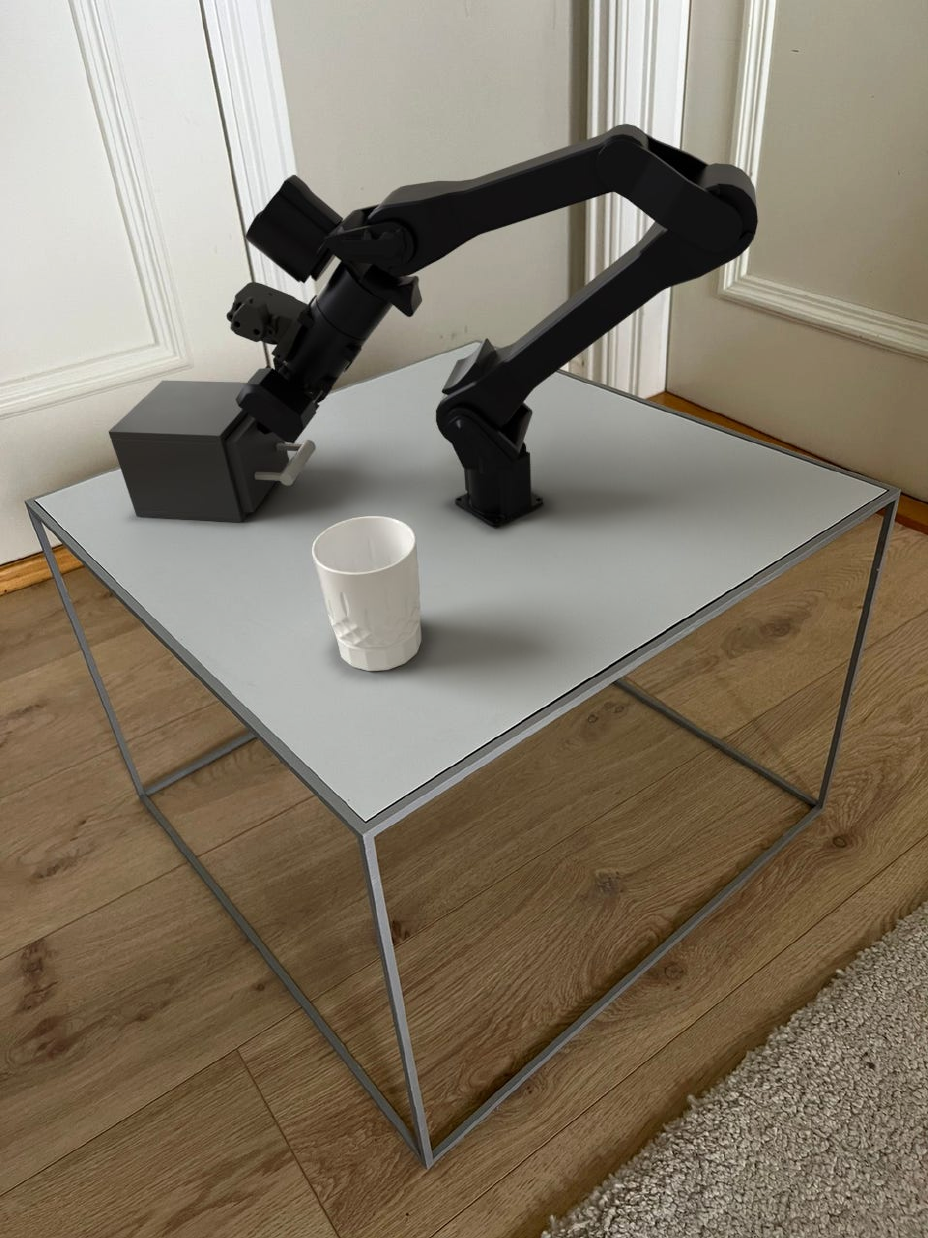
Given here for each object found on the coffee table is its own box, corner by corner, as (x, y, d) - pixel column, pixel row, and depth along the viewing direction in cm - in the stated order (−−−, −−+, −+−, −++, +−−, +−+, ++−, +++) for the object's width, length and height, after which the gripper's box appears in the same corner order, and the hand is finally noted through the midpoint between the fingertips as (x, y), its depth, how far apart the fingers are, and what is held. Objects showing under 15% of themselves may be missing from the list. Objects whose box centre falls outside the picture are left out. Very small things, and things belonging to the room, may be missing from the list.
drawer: (325, 462, 101) (313, 394, 96) (292, 514, 93) (277, 443, 88) (200, 457, 104) (182, 391, 99) (157, 507, 96) (135, 437, 91)
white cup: (415, 681, 74) (401, 576, 67) (319, 673, 75) (297, 570, 69) (437, 618, 80) (426, 518, 73) (348, 612, 81) (330, 513, 75)
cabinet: (282, 465, 103) (265, 382, 97) (241, 522, 94) (219, 435, 88) (185, 461, 105) (162, 380, 99) (136, 516, 96) (108, 431, 90)
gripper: (305, 222, 89) (230, 340, 99) (227, 292, 75) (149, 421, 84) (398, 300, 92) (317, 407, 102) (340, 381, 78) (252, 497, 87)
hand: (262, 430), depth 94 cm, fingers closed, pressing on drawer
